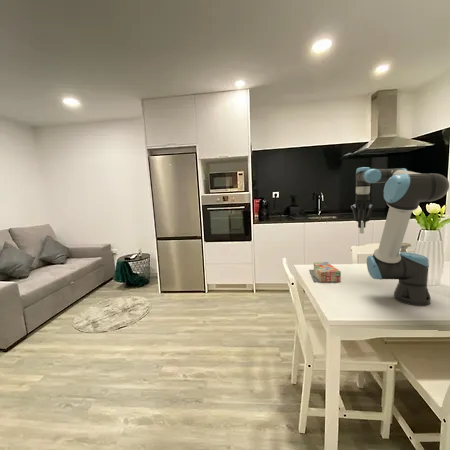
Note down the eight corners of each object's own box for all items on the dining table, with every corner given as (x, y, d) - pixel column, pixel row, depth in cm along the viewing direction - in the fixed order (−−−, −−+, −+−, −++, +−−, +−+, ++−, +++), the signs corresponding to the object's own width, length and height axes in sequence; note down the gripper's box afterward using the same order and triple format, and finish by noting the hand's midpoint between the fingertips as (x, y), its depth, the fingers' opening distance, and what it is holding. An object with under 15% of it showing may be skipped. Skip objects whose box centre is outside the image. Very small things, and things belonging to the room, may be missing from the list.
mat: (336, 282, 162) (336, 282, 162) (313, 282, 164) (313, 281, 164) (329, 271, 185) (329, 270, 185) (309, 270, 187) (309, 269, 187)
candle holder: (412, 277, 167) (414, 245, 164) (397, 277, 169) (398, 245, 166) (406, 273, 175) (408, 242, 173) (391, 272, 177) (393, 242, 175)
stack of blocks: (327, 270, 184) (308, 271, 184) (327, 261, 183) (309, 262, 183) (340, 281, 162) (320, 282, 162) (340, 271, 162) (320, 271, 162)
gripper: (371, 193, 164) (370, 232, 167) (349, 194, 166) (348, 232, 169) (376, 193, 157) (375, 233, 159) (353, 194, 159) (352, 234, 161)
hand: (361, 233), depth 164 cm, fingers closed
